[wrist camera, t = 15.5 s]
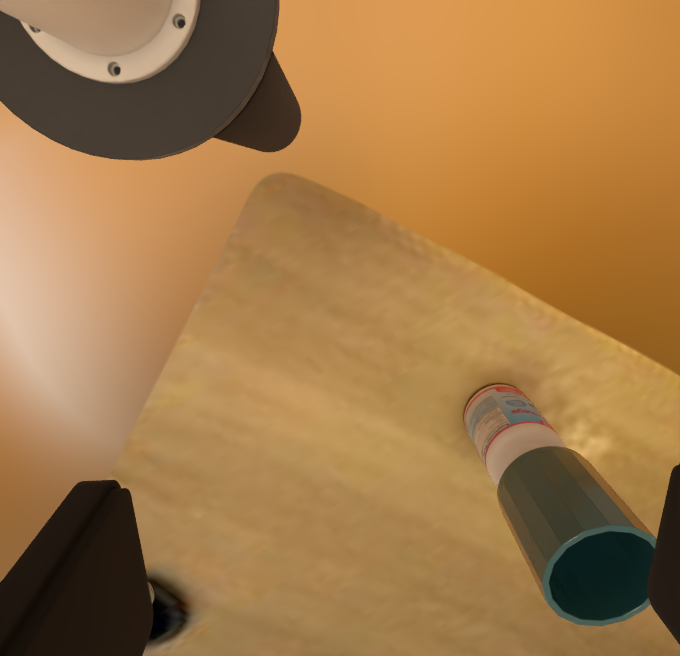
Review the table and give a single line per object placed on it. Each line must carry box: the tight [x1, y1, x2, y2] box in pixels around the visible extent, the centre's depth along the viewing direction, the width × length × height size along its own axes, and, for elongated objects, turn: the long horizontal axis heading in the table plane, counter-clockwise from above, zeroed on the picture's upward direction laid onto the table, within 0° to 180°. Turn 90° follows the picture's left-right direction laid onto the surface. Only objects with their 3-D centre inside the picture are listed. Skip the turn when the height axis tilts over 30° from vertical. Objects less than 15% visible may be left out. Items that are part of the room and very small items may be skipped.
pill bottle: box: [464, 385, 566, 486], centre depth 40 cm, size 6×6×11 cm
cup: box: [497, 446, 657, 626], centre depth 31 cm, size 7×7×8 cm
